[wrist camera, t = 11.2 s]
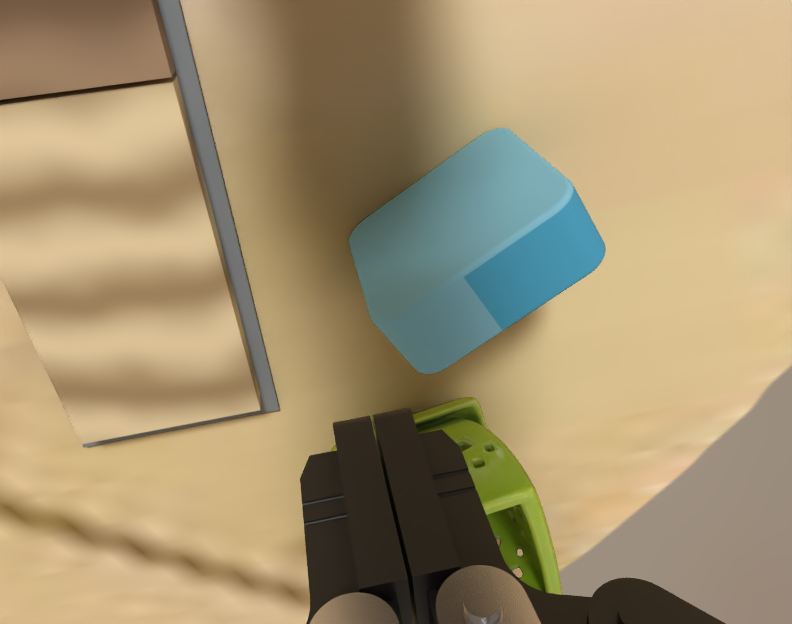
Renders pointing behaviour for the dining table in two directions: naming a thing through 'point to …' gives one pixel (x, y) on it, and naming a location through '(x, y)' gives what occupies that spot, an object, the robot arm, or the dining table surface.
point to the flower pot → (499, 491)
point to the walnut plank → (80, 45)
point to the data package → (472, 250)
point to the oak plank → (120, 260)
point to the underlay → (214, 211)
